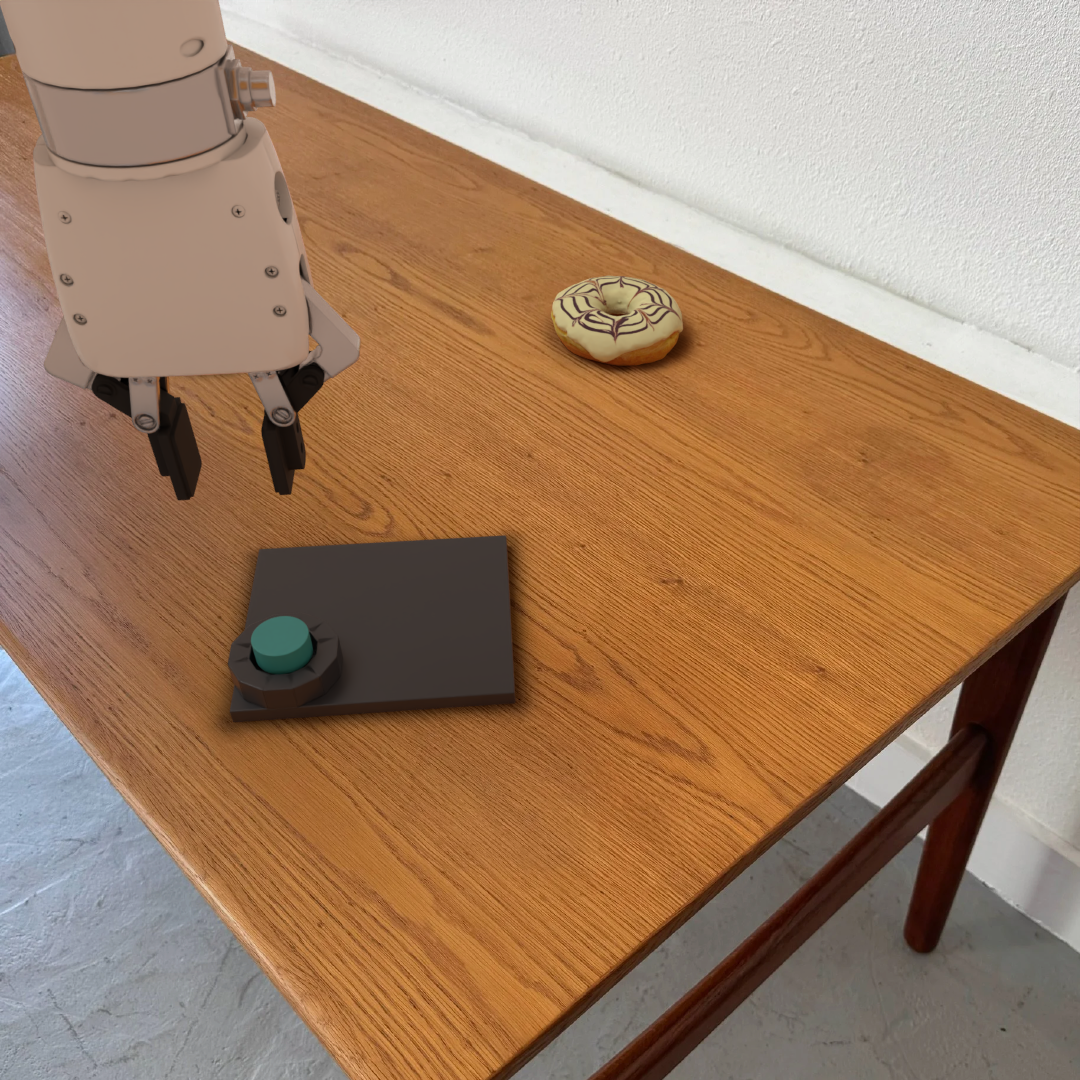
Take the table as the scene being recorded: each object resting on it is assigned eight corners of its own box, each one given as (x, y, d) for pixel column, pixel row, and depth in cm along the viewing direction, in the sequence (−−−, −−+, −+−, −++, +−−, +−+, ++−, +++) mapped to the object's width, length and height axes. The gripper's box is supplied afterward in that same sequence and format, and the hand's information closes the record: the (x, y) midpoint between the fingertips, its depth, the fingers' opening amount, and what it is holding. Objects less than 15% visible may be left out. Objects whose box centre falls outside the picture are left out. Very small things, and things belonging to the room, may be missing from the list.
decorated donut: (605, 389, 91) (605, 348, 88) (527, 333, 97) (526, 292, 94) (705, 347, 95) (708, 306, 93) (625, 295, 102) (626, 255, 99)
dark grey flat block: (233, 728, 65) (221, 693, 63) (262, 564, 76) (252, 529, 73) (516, 709, 67) (513, 674, 65) (507, 550, 77) (505, 515, 75)
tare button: (253, 676, 65) (247, 657, 64) (259, 636, 67) (254, 617, 66) (310, 673, 65) (305, 654, 64) (315, 633, 67) (311, 614, 66)
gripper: (362, 66, 48) (410, 429, 61) (-54, 76, 47) (83, 445, 60) (351, 137, 43) (406, 519, 55) (-120, 151, 41) (46, 539, 54)
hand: (238, 477), depth 57 cm, fingers open, 4 cm apart
